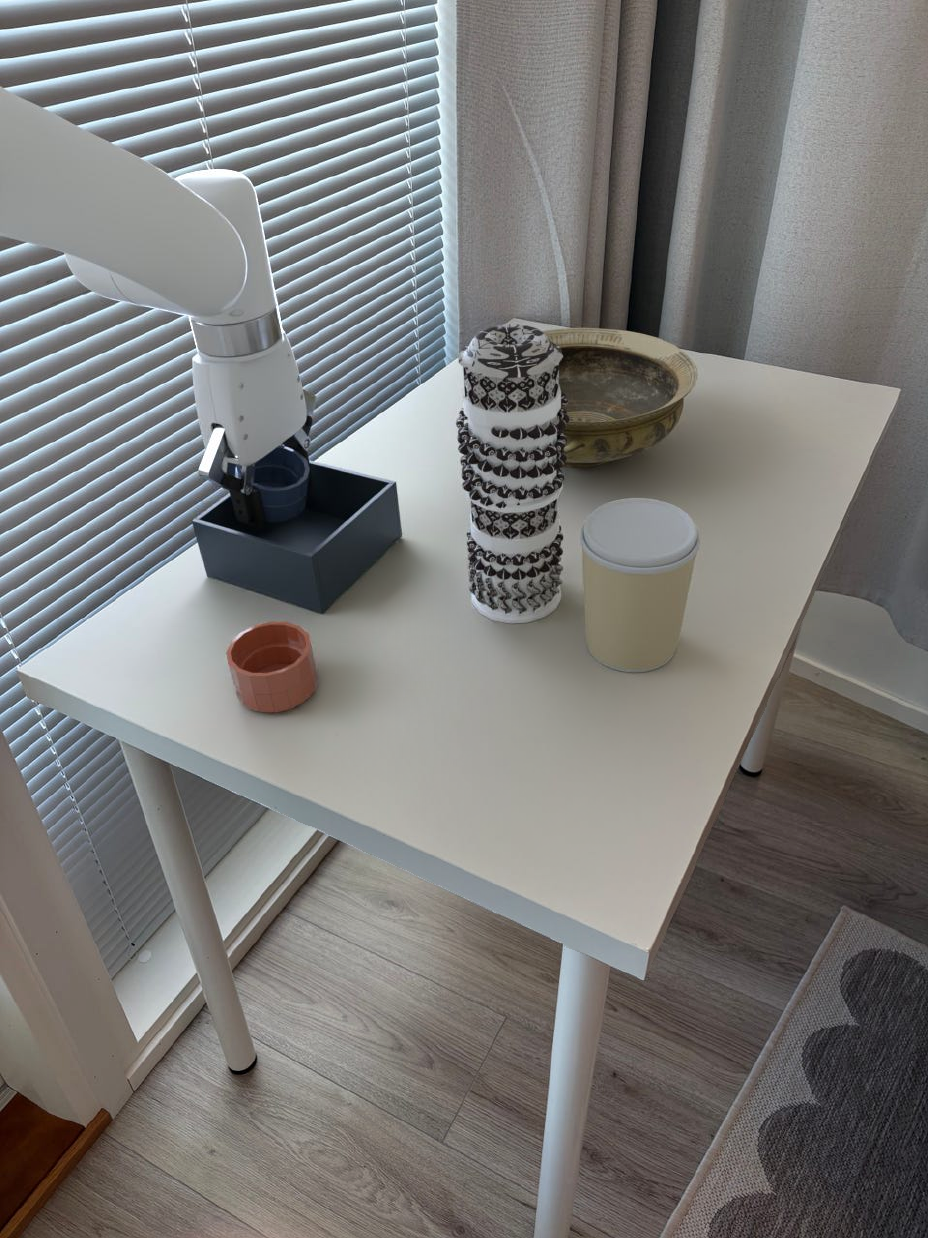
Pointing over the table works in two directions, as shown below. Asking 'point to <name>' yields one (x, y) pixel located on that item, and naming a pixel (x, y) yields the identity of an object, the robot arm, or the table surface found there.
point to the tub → (305, 540)
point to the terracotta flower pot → (272, 666)
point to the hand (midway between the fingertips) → (276, 502)
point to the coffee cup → (636, 581)
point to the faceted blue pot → (281, 483)
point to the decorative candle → (513, 471)
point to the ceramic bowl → (618, 391)
